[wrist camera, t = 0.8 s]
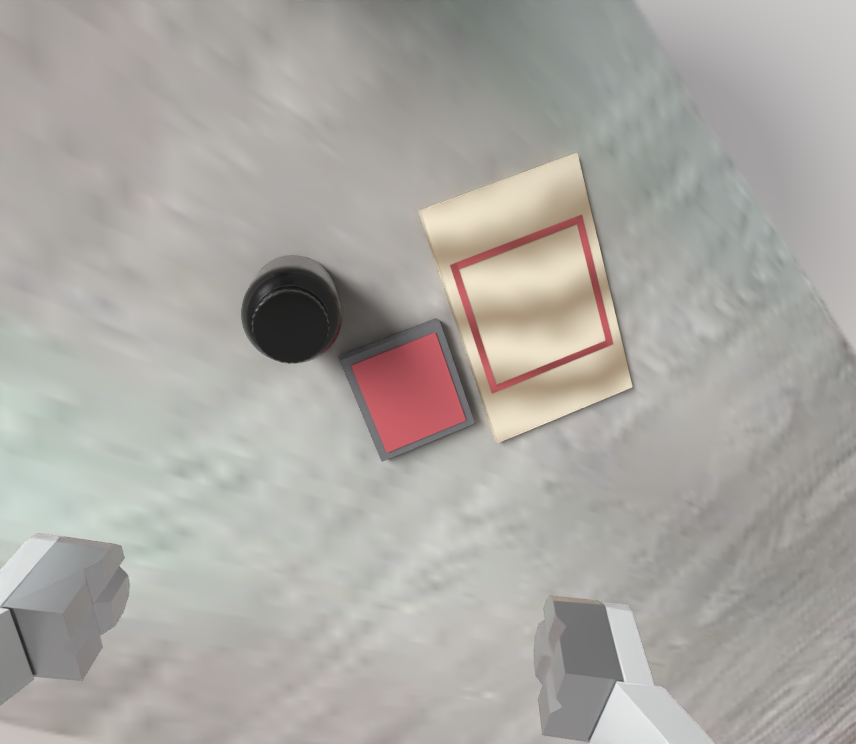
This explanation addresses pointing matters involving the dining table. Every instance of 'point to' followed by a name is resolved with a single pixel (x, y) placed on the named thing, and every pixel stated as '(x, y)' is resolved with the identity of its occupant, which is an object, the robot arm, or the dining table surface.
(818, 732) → the dining table surface
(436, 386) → the ink pad
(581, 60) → the dining table surface
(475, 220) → the marked board
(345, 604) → the dining table surface
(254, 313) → the supplement bottle
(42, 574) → the robot arm
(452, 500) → the dining table surface
